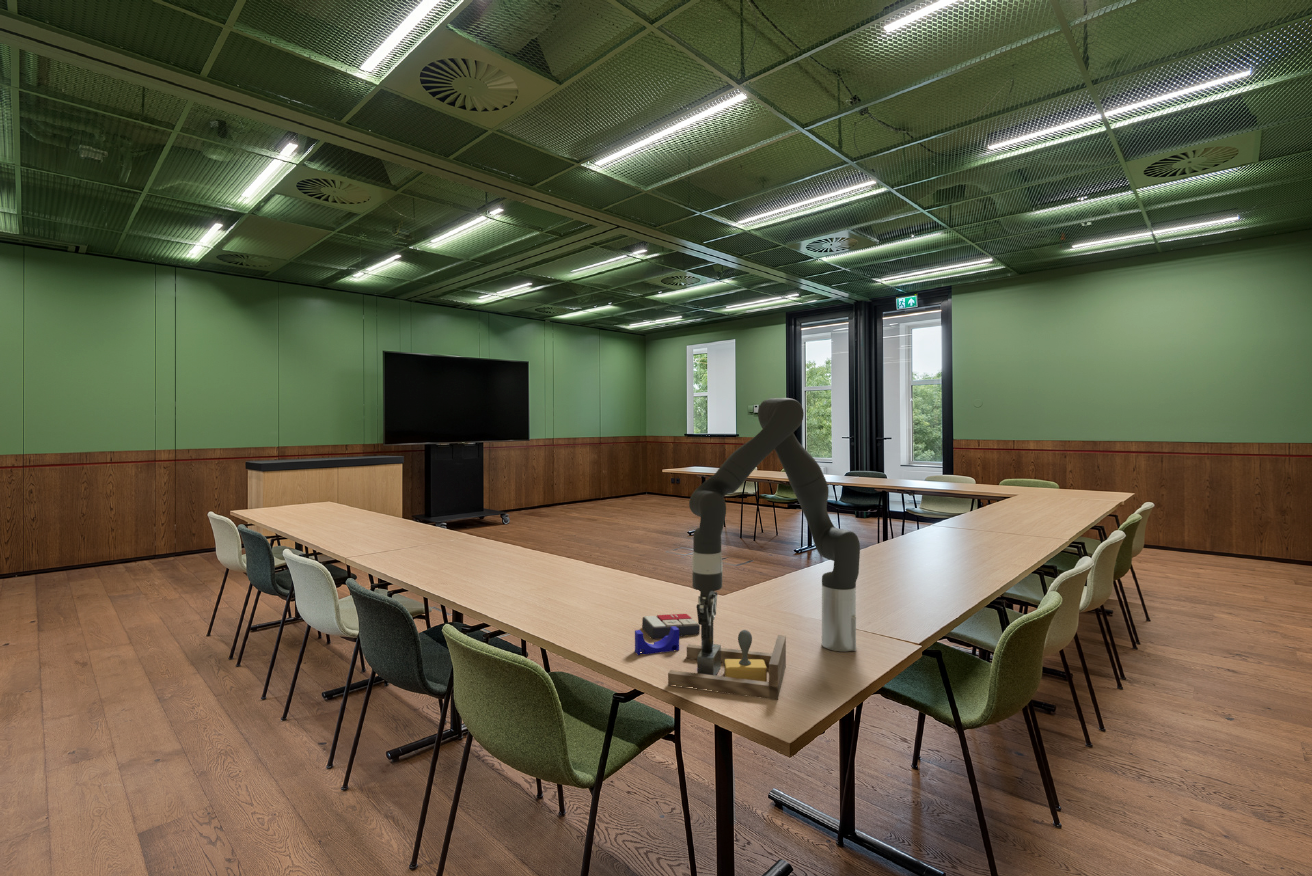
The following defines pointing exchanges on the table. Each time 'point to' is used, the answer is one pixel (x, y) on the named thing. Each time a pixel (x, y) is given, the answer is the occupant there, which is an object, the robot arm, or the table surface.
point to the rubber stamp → (745, 662)
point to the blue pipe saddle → (657, 643)
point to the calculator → (669, 625)
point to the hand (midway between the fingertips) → (707, 637)
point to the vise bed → (736, 685)
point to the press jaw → (709, 655)
